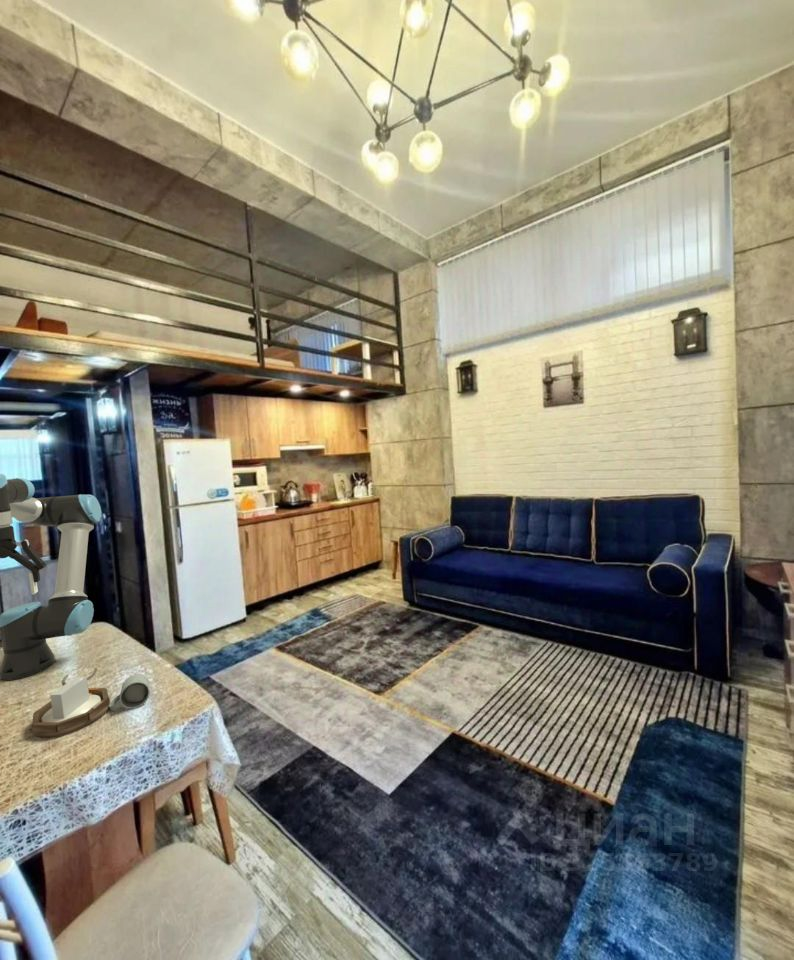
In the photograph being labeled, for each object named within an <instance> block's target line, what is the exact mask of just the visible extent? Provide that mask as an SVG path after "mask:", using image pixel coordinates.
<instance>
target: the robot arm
mask: <svg viewBox="0 0 794 960" xmlns="http://www.w3.org/2000/svg"><path fill="white" fill-rule="evenodd" d="M35 489H36V488H35V486H34V484H33V483H32V482H31V481H30V480H28V479H26V478H20V477H19V478H17V477H16V478H10V479H9V478H7V476H6V475H5V474H3V473H0V559H6V558H10V559H12V560H14V561H16V562H17V563H18V564H19V565H22V566H23V567H25V568H26V569H27V570H28V571H30V572H29V573H28V579H29V580H28V581H29V587H30V593H31V595H35V594H37V593H38V592H39V589H38V582H40V581H41V575H40V571H41V570H43V569H44V568H46V567H47V563H46V562H45V561H44V560H43V559H42V558H41V556H40V555H39V554H38V553H37V551H36V550H35V549H34V548H33V547H32V545H31V542H30V540H29V538H28V539H27V538H26V539H24V540H21V541H16V537H15V531H14V529H15V528H14V526H13V525H12V524H13V523H14V522H13V518H14V519H15V520H16V521H18V522H21V523H24V524H31V525H35V526H42V527H43V526H44V527H56V528H57V530H59V532H61V533H60V542H59V543H60V544H59V545H60V546H59V553H58V560H57V568H56V570H57V571H56V577H55V578H56V579H55V586H54V594H53V595H52V596H51V597H49V598H48V601H47V602H48V603H47V605H43V603H41V601H32V602H27V603H25V604H20V605H17V606H15V607H13V608H9V609H8V610H6V611H4V612H2V613H1V614H0V639H1V644H2V650H3V657H2V660H1V664H0V680H3V681H13V680H19V679H24V678H28V677H30V676H33V675H36V674H39V673H41V672H43V671H45V670H47V669H49V668H50V667H52V666H53V665H54V664H55V662H56V657H55V653H54V652H53V651H52V649H51V648H50V646H49V645H48V643H47V640H48V639H52V638H60V637H69V636H70V637H71V636H74V635H79V634H81V633H83V632H86V630H87V629H88V627H90V625H91V623H92V621H93V617H94V612H95V609H94V604H93V602H92V601H91V600H89V599H88V595H87V594H85V592H84V588H85V578H86V577H85V576H86V567H87V566H86V565H87V555H88V545H89V544H88V543H89V534H90V532H91V531H92V530H94V528H95V524H97V523H99V522H100V521H101V519H102V507H101V504H100V502H99V500H98V499H97V497H96V496H95V495H92V494H81V493H80V494H74V495H73V494H72V495H61V496H49V497H39V498H36V497H33V496H34V494H35V491H36V490H35ZM17 547H19V548H20V549H22V550H23V552H24V553H25V554H26V555H27V557H29V559H28V558H26V557H25V556H24V555H22V554H21V553H20V551H18V550H17V549H16V548H17Z"/></svg>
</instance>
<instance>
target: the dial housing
mask: <svg viewBox="0 0 794 960" xmlns="http://www.w3.org/2000/svg"><path fill="white" fill-rule="evenodd" d="M88 690H89V693H91V694H92V695H98V696H99V697H100V698H101V701H100V702H98V703H97V704H96V705H94V706H93V707H92V708H91V709H90V710H89V711H87V712H86V713H83V714H80V715H77V716H75V717H72V718H69V719H66V720H63V721H61V722H42V717H43V715H44V714H45V713H46V712H47V711H48V710H49V709H51V708H52V705H51V701H49V702H47V703H46V704H45V705H43V706H42V707H40V708H39V709H37V710H35V711H34V712H33V714H32V721H31V730H32V734H33V736H34V737H35V738H39V739H55V738H59V737H65V736H67V735H70V734H74V733H77V732H78V731H80V730H82V729H85V728H87V727H89V726H90V725H92V724H95V722H97V721H99V720H100V719H102V718H103V717H104V716H105V715H106V714H107V713H108V712H109V711H110V708H109V704H110V703H111V698H110V697H109V694H108V690H107V688H106V687H88Z"/></svg>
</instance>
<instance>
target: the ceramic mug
mask: <svg viewBox="0 0 794 960" xmlns="http://www.w3.org/2000/svg"><path fill="white" fill-rule="evenodd" d="M150 688H151V687H150V681H149V678H148V677H147V676H146V675H144V674H142V673H135V674H132V675H130V676H128V677H127V678H126V679H125V680H124V682H123V683H122V686H121V689H120V692H119V694H118V695H117V696H116V697H114V698H113V699H112V701H110V704H109V710H111V711H113V712H114V711H116V710H118V709H120V708H121V707H123V708H125V709H129V710H130V709H131V710H132V709H137V708H139V707H142V705H144V704H145V703H146V701H148V699H149V697H150V692H151V690H150Z"/></svg>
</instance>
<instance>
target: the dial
mask: <svg viewBox="0 0 794 960" xmlns="http://www.w3.org/2000/svg"><path fill="white" fill-rule="evenodd" d="M87 678H88V677H87V676H76V677H73V679H71V680H70V681H67V682H66V683H67V684H65V685H63V686H61V687H60V688H58V689H57V690H56V691H53V693H51V694H50V695H49V696H50V702H51V705H52V708H51V709H49V710H48V711H47V712H46V713H45V714H44V715H43V717H42V722H61V721H63V720H66V719H69V718H72V717H75V716H77V715H80V714H83V713H86V712H87V711H89V710H90V709H91V708H92V707H93V706H94V705H96V704H97V703H98V702H100V701H101V698H100V697H99V696H98V695H92V694H91V693H89V690H88V688H89V685H88V680H87Z"/></svg>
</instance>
